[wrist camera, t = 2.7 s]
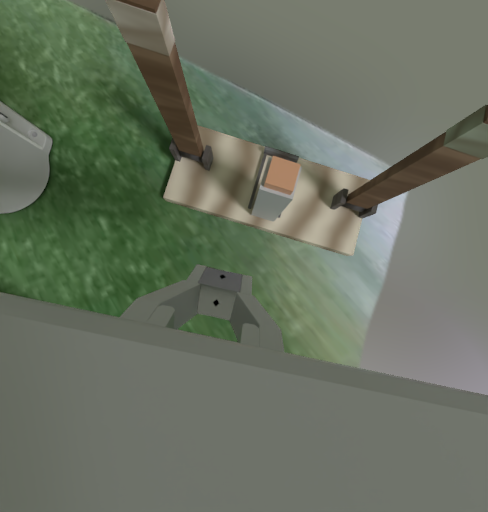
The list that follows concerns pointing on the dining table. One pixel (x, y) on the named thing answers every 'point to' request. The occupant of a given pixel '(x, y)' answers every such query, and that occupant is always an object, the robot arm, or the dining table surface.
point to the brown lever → (160, 67)
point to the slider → (276, 188)
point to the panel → (247, 186)
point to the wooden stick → (427, 162)
